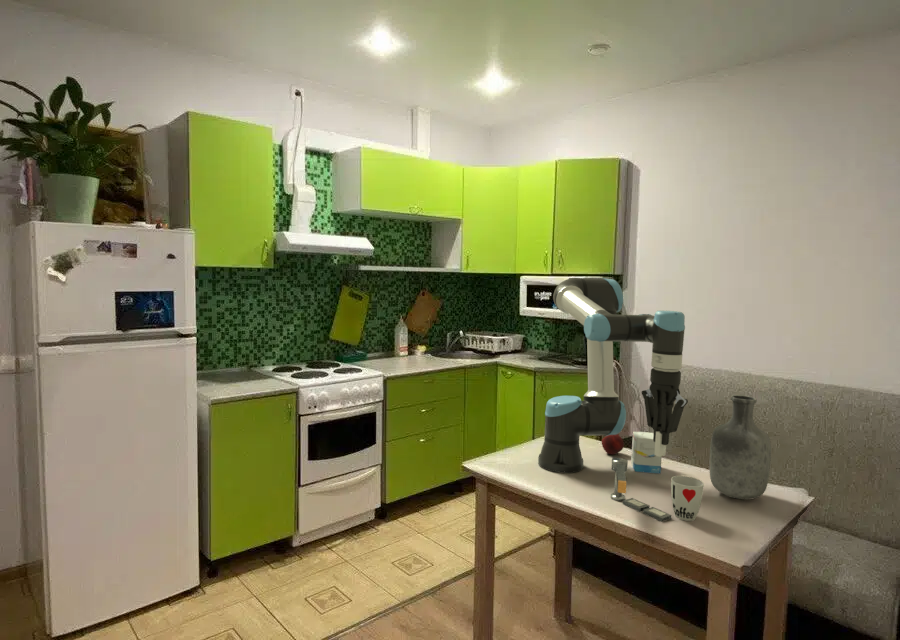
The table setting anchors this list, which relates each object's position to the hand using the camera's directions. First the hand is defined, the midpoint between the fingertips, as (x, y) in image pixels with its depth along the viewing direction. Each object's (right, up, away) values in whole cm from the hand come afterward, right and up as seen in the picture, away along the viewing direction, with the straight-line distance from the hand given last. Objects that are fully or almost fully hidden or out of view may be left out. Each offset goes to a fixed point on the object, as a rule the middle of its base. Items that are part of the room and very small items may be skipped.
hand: (659, 455), depth 148 cm
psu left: (-4, -16, +7) cm, 18 cm away
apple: (+3, -13, +53) cm, 55 cm away
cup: (+7, -17, +1) cm, 19 cm away
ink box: (+10, -14, +39) cm, 42 cm away
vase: (+30, -17, +17) cm, 38 cm away
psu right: (0, -17, +1) cm, 17 cm away
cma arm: (-9, -8, +4) cm, 13 cm away
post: (-8, -16, +12) cm, 21 cm away
